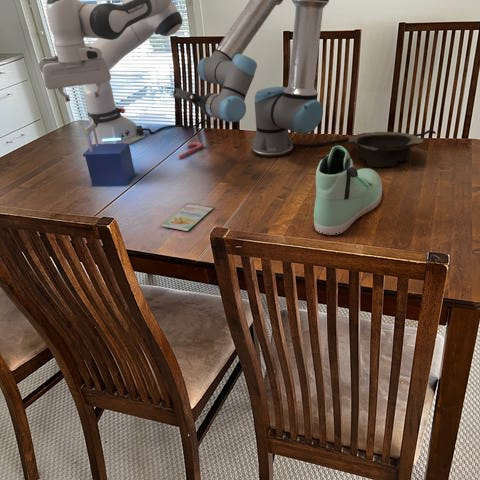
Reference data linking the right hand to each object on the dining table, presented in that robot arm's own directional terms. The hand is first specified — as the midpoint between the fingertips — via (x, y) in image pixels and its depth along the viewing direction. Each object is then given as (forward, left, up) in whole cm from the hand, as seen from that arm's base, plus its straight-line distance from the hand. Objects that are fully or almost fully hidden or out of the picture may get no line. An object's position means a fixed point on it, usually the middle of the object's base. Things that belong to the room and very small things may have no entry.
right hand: (192, 101), depth 171 cm
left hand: (+37, +5, +8) cm, 38 cm away
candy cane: (+2, -6, -21) cm, 22 cm away
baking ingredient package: (+15, +46, -21) cm, 53 cm away
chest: (+33, +7, -21) cm, 40 cm away
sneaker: (-30, +61, -21) cm, 71 cm away
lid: (+33, +7, -10) cm, 35 cm away
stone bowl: (-58, +33, -21) cm, 70 cm away
